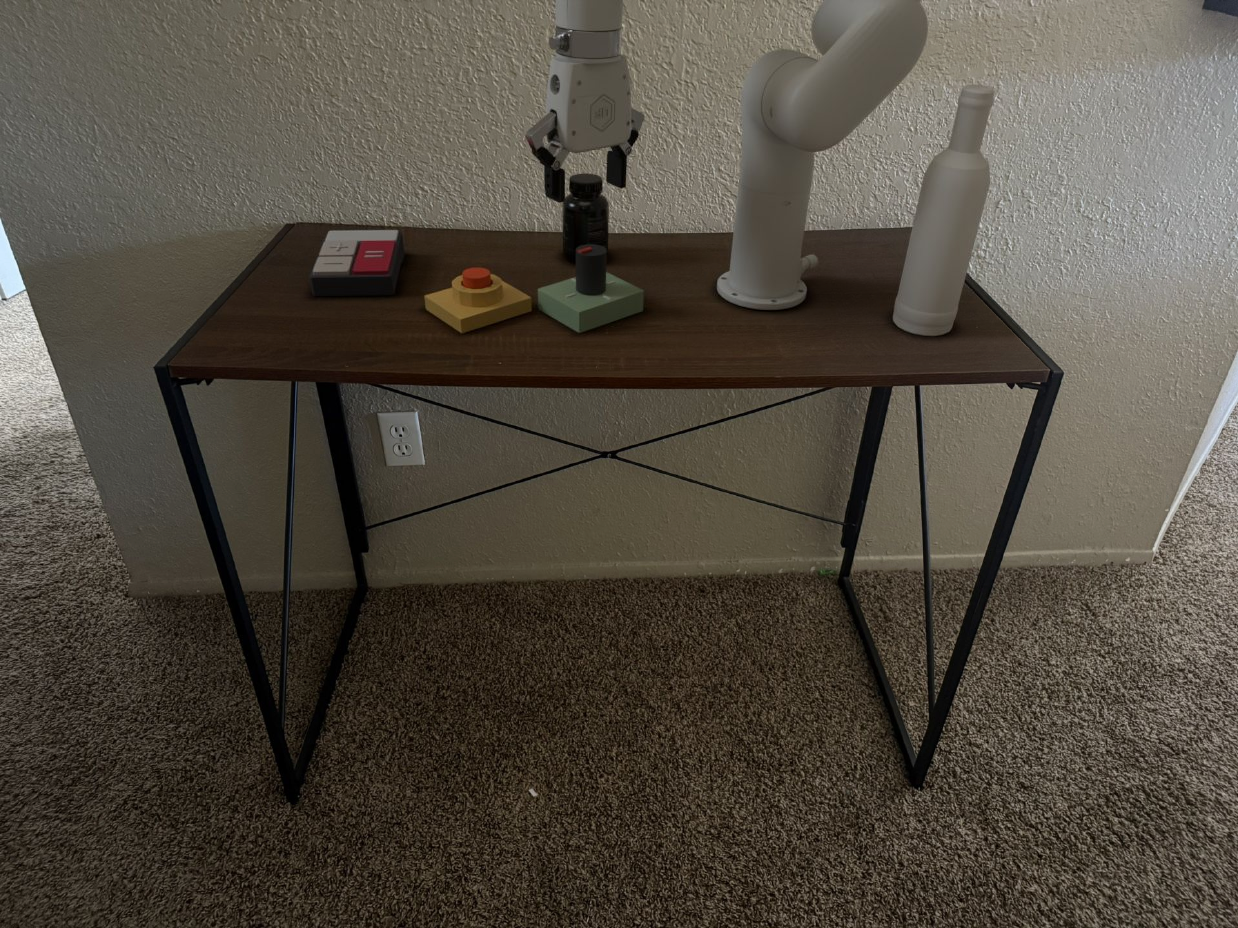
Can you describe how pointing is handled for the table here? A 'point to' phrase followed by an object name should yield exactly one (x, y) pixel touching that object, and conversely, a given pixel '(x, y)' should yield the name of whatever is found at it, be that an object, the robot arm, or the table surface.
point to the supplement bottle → (584, 215)
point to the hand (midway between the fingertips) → (586, 192)
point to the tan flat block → (477, 304)
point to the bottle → (946, 222)
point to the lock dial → (591, 269)
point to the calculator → (358, 263)
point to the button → (476, 278)
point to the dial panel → (590, 303)
